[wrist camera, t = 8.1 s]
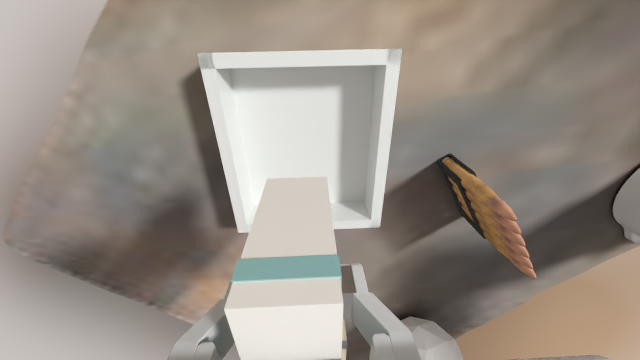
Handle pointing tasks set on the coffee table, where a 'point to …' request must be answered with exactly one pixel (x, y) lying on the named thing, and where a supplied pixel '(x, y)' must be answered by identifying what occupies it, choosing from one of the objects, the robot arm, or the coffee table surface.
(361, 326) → the robot arm
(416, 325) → the geodesic sphere
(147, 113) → the coffee table surface
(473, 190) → the ammunition clip
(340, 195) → the tray
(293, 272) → the teal-striped white carton
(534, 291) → the coffee table surface
